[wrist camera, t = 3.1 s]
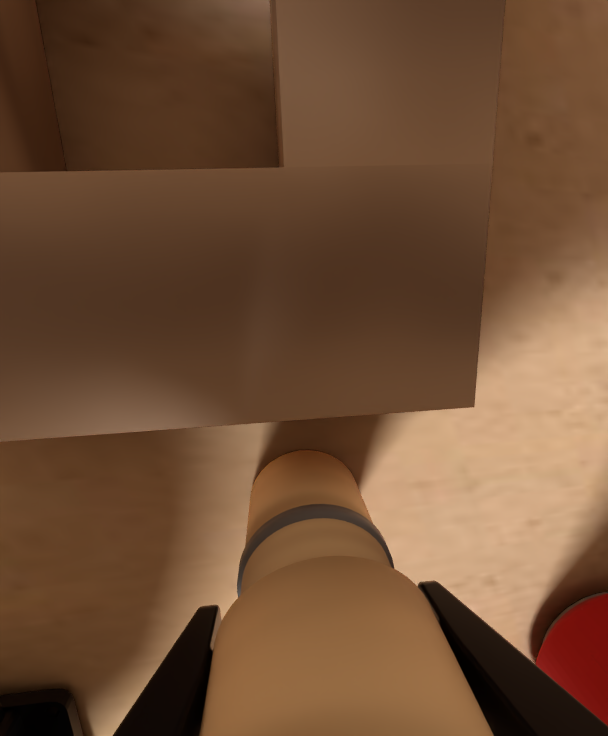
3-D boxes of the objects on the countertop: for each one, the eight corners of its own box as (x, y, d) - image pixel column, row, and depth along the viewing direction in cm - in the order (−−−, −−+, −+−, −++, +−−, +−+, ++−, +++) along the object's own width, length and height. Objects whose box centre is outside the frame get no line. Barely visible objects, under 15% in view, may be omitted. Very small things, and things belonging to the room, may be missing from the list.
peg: (369, 549, 12) (711, 1484, 3) (243, 561, 12) (128, 1682, 2) (369, 433, 11) (927, 1290, 2) (232, 444, 11) (-53, 1584, 1)
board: (422, 375, 11) (474, 406, 8) (-44, 405, 10) (-170, 454, 7) (450, -347, 8) (562, -745, 5) (-285, -418, 6) (-740, -991, 4)
